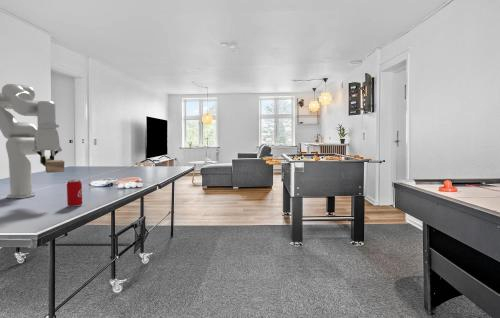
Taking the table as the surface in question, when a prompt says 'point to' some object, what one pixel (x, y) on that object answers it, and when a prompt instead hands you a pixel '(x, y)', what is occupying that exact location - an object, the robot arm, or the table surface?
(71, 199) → the beverage can
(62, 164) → the curved plank on base
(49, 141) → the robot arm
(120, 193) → the table surface
